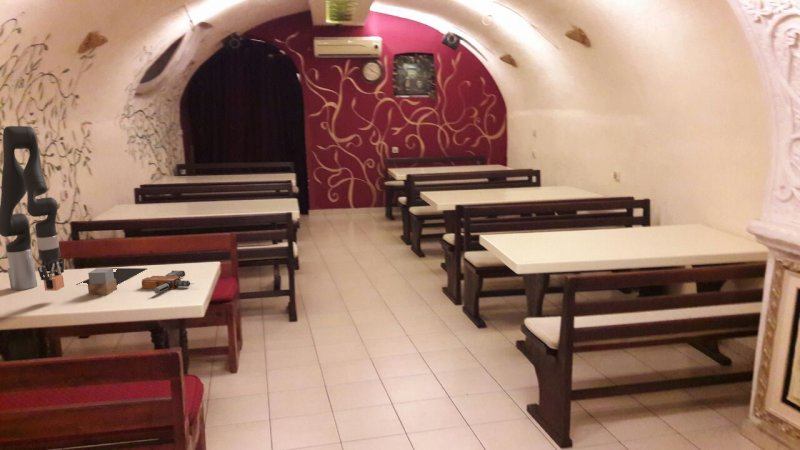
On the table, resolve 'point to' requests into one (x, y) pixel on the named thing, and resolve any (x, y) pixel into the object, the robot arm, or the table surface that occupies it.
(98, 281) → the gray middle block
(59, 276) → the terracotta block
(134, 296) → the table surface
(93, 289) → the walnut base block
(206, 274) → the table surface
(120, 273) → the tablet
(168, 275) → the tool
